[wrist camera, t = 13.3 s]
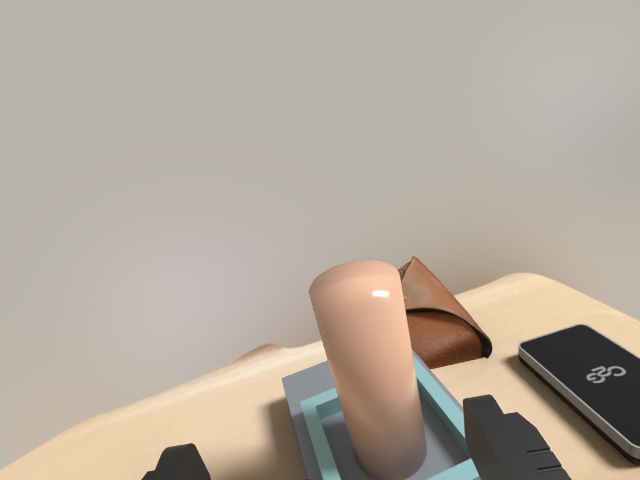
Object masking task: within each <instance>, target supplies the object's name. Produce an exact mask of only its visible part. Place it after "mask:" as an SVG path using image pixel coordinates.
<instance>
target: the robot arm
mask: <svg viewBox="0 0 640 480" xmlns="http://www.w3.org/2000/svg"><path fill="white" fill-rule="evenodd" d="M463 413H464V431H465V439H466V443H467V447H468V450H469V453H470V456H471V458H472V461H473V463H474V465H475V468H476V470H477V472H478V474H479V477H480V479H481V480H571V478H570V477H569V475H568V474H567V472H566V471H565V470H564V469H563V468H562V466H561V464H560V462H559V461H558V459H557V458H556V456H555V455H554V453H553V452H551V450H550V447H549V446H548V444H547V443H546V441H545V440H544V439H543V437H542V436H541V434H540V433H539V431H538V430H537V428H536V427H535V426H533V425H532V424H531V423H530V422H529V421H527V420H526V419H525V418H524V417H522V416H521V415H520V414H519V413H518V412H515V413H509V414H503V412H502V410H501V409H500V407H499V405H498V404H497V402H496V400H495V399H494V398H493V396H492V395H483V396H477V397H471V398H465V399H463ZM142 480H211V478H210V475H209V472H208V470H207V468H206V466H205V464H204V462H203V460H202V458H201V456H200V454H199V452H198V450H197V448H196V446H195V445H194V444H192V443H190V444H185V445H179V446H173V447H168V448H166V449H165V450H164V451H163V452H162V454H161V457H160V459H159V461H158V464H157V466H156V469H155V470H154V471H148V472H147V473H146V474H145V476H144V477H143V478H142Z"/></svg>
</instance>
